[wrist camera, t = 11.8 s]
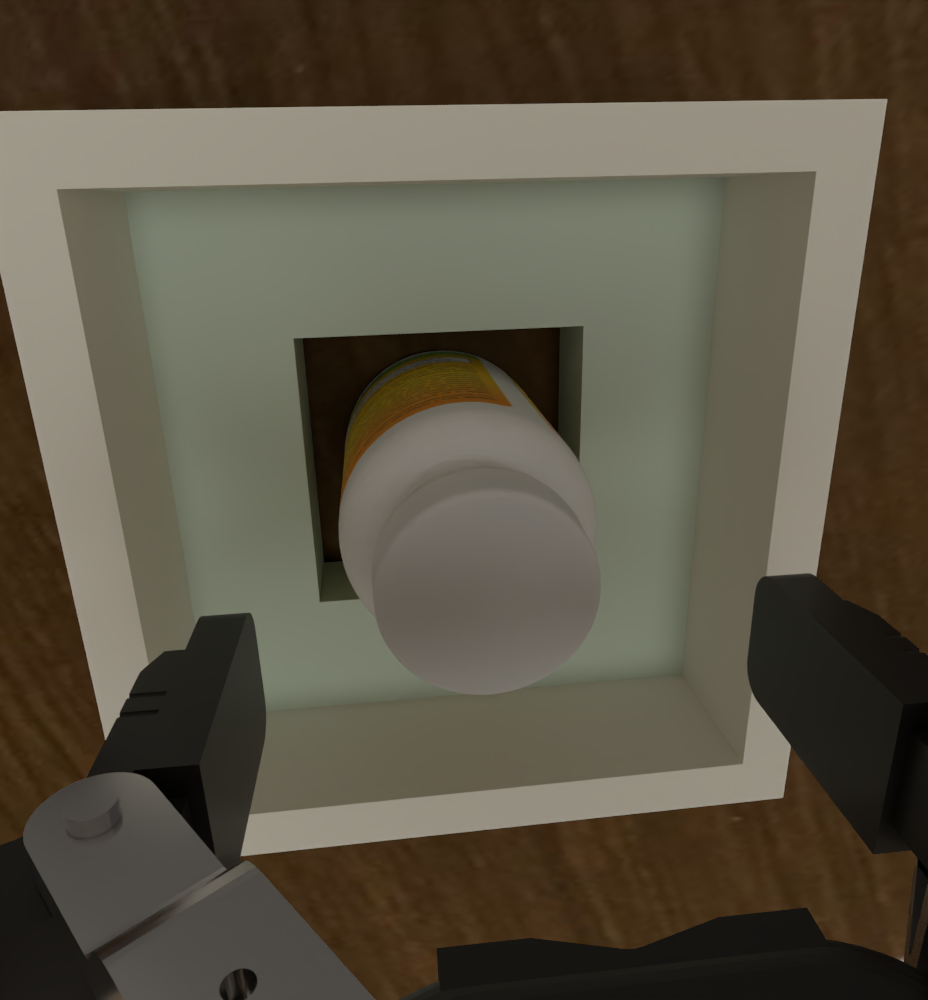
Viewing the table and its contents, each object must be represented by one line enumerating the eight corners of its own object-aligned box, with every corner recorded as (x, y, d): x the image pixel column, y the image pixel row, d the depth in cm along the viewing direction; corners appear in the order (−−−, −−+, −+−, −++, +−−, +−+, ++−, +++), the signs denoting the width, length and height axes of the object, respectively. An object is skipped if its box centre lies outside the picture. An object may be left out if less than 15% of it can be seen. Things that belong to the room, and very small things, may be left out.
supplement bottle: (311, 476, 22) (273, 659, 13) (405, 309, 21) (433, 387, 12) (472, 558, 24) (535, 773, 15) (569, 407, 23) (703, 541, 14)
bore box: (733, 128, 21) (887, 98, 14) (686, 660, 26) (783, 797, 20) (91, 140, 19) (-36, 112, 13) (190, 703, 25) (134, 867, 19)
